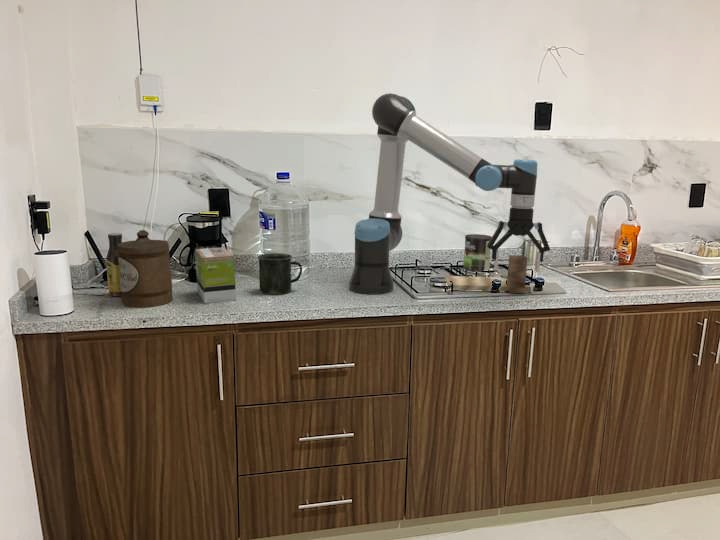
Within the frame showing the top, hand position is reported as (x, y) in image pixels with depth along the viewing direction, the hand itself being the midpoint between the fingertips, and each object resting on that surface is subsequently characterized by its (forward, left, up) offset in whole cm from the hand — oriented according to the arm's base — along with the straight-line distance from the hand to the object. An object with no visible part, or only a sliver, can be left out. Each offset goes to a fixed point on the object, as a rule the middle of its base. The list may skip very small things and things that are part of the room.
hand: (516, 270), depth 190 cm
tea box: (-98, -18, -8) cm, 100 cm away
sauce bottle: (-129, -20, -8) cm, 130 cm away
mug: (-79, -9, -8) cm, 80 cm away
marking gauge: (0, +4, -7) cm, 8 cm away
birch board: (-9, +6, -8) cm, 13 cm away
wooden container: (-117, -26, -8) cm, 120 cm away
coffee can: (-9, +32, -8) cm, 34 cm away
